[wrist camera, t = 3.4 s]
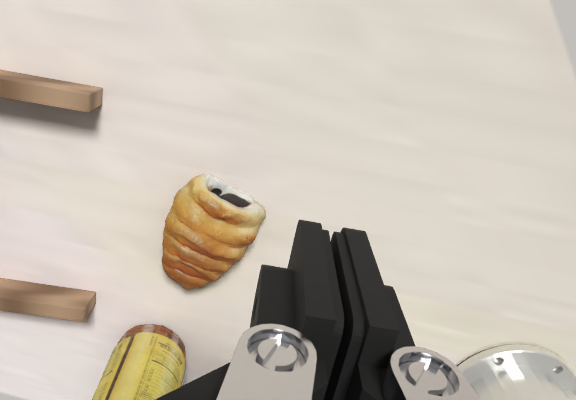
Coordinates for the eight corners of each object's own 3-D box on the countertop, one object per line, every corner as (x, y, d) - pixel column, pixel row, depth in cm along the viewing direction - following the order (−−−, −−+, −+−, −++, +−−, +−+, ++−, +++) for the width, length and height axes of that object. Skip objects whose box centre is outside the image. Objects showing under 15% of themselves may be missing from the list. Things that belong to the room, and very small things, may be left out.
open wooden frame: (102, 88, 34) (89, 94, 31) (95, 303, 41) (84, 322, 38) (-64, 58, 33) (-90, 62, 30) (-42, 284, 40) (-62, 301, 38)
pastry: (219, 290, 41) (213, 318, 37) (145, 256, 39) (131, 281, 36) (271, 201, 37) (270, 221, 34) (193, 161, 36) (183, 178, 33)
